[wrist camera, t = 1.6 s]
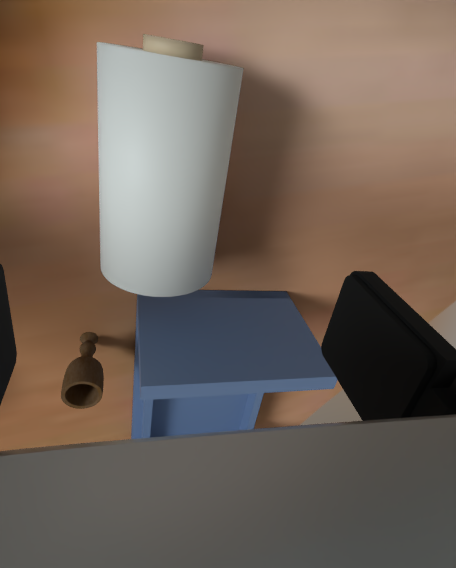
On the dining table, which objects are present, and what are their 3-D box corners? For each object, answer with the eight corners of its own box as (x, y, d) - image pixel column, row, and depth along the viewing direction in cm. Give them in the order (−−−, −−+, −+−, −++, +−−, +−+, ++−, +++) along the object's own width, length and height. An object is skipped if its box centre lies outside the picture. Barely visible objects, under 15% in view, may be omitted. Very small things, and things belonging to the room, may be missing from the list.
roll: (92, 24, 18) (102, 25, 13) (219, 48, 20) (269, 56, 15) (97, 251, 24) (105, 310, 19) (194, 249, 26) (224, 302, 21)
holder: (137, 289, 27) (141, 386, 19) (286, 291, 30) (338, 376, 22) (131, 436, 35) (132, 545, 27) (248, 426, 38) (277, 522, 30)
